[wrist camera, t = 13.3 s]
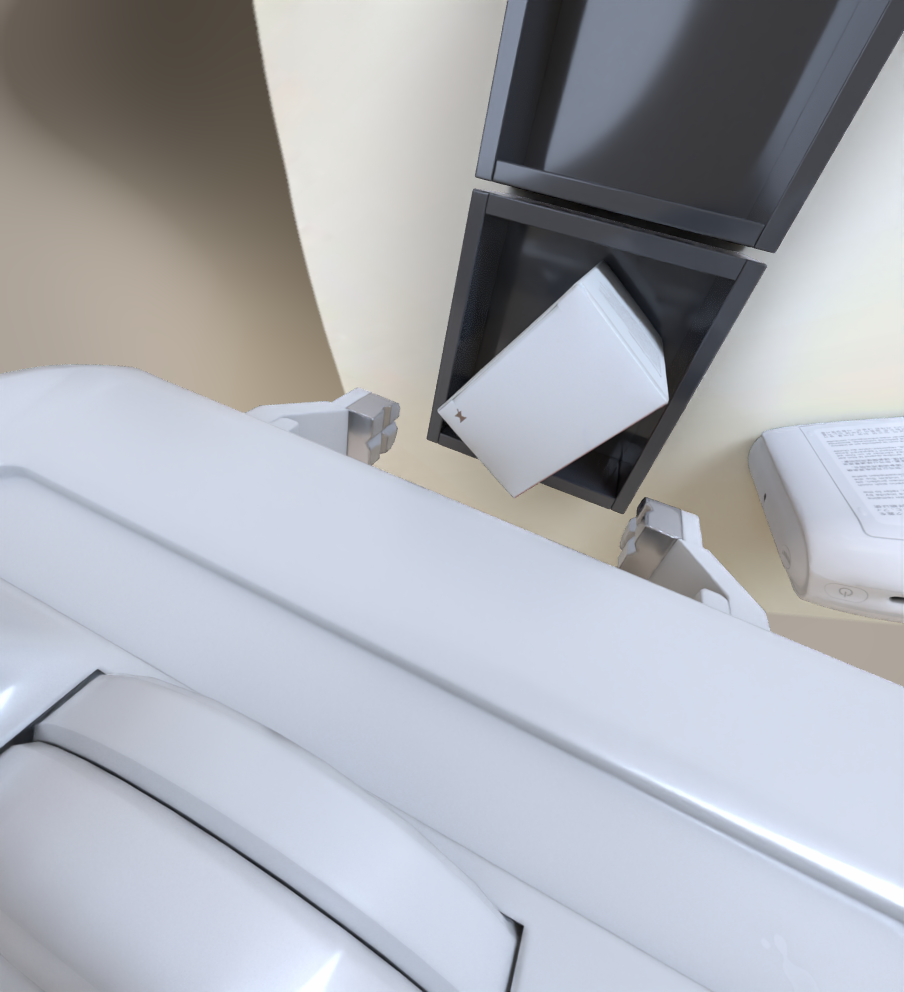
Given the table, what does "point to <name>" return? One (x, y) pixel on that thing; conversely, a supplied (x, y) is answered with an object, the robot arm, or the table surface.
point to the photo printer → (837, 511)
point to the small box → (562, 384)
